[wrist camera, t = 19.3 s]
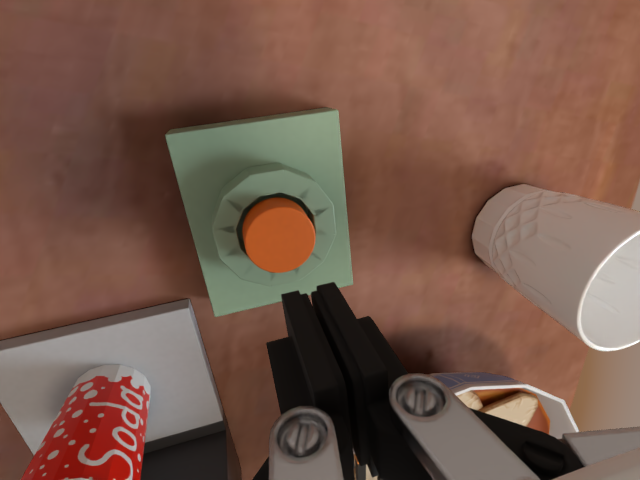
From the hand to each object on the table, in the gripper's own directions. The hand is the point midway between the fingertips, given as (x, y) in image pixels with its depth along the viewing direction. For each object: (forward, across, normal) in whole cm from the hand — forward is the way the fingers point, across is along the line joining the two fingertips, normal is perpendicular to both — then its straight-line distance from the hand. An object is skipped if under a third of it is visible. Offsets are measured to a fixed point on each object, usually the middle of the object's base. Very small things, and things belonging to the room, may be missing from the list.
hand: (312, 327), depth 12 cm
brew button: (+10, 0, 0) cm, 10 cm away
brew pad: (+13, 0, 0) cm, 13 cm away
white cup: (+13, -18, +6) cm, 23 cm away
